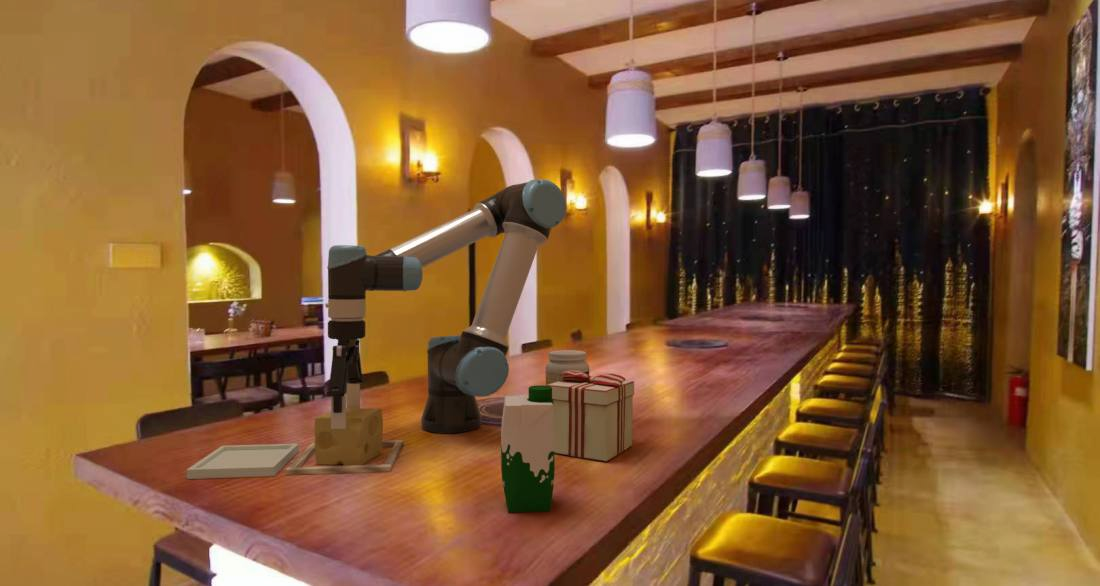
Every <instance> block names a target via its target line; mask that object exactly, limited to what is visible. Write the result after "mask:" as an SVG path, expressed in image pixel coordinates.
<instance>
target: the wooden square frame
mask: <svg viewBox="0 0 1100 586" xmlns="http://www.w3.org/2000/svg"><path fill="white" fill-rule="evenodd" d="M403 446H404V440H403V439H398V440H397V439H394V440H393V439H391V440H390V439H389V440H382V446H381V448H385V447H386V448H388V447H389V448H390V447H392V448H391V451H390V452H389V454H388V455H387V458H386V459H385V462H384V463H383V464H363V465H352V466H344V465H326V466H325V465H323V466H321V465H320V466H303V465H305V463H306V462H307V461H308V460H309V459H310V458H311V457H312V456H313V455H314V454H315V441H314V442H312V443H310V445H308V446H307V448H306V449H304V451H303V452H301V454H300V455H299V456H298V457H296V459H294V461H293V462H292V463H291V464H290V465H288V466H287V468H285V470H284V472H285V476H297V475H302V476H303V475H325V474H326V475H329V474H331V475H332V474H334V475H335V474H357V473H358V474H361V473H365V474H366V473H387V472H389V473H390V472H391V471H392V469H393V467H394V465H395V463H396V461H397V459H398V457H399V454H400V452H401V451H402V448H403ZM302 466H303V467H302Z"/></svg>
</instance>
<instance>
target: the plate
mask: <svg viewBox="0 0 1100 586" xmlns="http://www.w3.org/2000/svg"><path fill="white" fill-rule="evenodd" d="M299 448H300V444H299V443H277V444H275V443H274V444H272V443H269V444H239V445H237V444H236V445H235V444H234V445H221V446H219V447H218V448H216V449H215V450H214V451H212V452H211V453H208V454H207V455H206V456H205V457H203V458H202V459H200V460H198V461H197V462H196V463H193V465H191V466H190V467H188V468H187V469H186V479H187V480H196V479H199V480H201V479H203V480H204V479H230V478H258V477H259V478H260V477H262V478H264V477H275V476H276V475H277V474H278V473H279V472H280V471H281V470H282V469H283V468H284V467H285V466H286V465H287V464H288V463H289V462H290V461H291V460H292V459H293V458H294V457H295V456H296V455H297V454H298V453H300V449H299Z"/></svg>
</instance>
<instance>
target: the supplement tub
mask: <svg viewBox="0 0 1100 586" xmlns="http://www.w3.org/2000/svg"><path fill="white" fill-rule="evenodd" d="M547 357H548V358H547V359H548V360H549V361H548V362H547V363H546V364H545V386H546V385H548V384H552V383H555V382H558V381H561V380H563V379H560V378H563V377H561V376H559V375H560V374H561V373H563V372H565V371H569V370H577V371H581V372H584V373H586V374H588V375H589V376H590V365H589V363H588V362H587V361H586V359H587V352H586V351H585V350H584V351H583V350H577V349H576V350H575V349H563V350H561V349H559V350H552V351H549V352H548V356H547Z"/></svg>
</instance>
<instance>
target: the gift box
mask: <svg viewBox="0 0 1100 586" xmlns="http://www.w3.org/2000/svg"><path fill="white" fill-rule="evenodd" d="M559 376H561V377H563V378H560V379H563V380H561V381H558V382H555V383H552V384H548V385H546V384H545V386H550V387H552V398H553V411H554V431H555V455H556V454H557V455H564V456H569V457H576V458H580V459H587V460H595V461H601V462H608V461H609V460H611V459H612V458H615V457H616V456H618V455H620V454H621V453H624V452H625V451H626V450H628V449H630V448H631V447H633V415H634V414H633V411H634V410H633V407H634V406H633V404H634V403H633V401H634V400H633V399H634V398H633V397H634V395H635V381H633V380H629V379H628V380H627V379H626V377H624V376H622V375H619V374H616V373H605V374H603V373H602V374H599V375H596V376H593V375H590V374H589V375H588V374H586V373H584V372H581V371H577V370H569V371H565V372H563V373H561V374H560V375H559ZM630 446H631V447H630ZM629 447H630V448H629ZM627 448H628V449H627ZM624 450H625V451H624Z"/></svg>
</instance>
